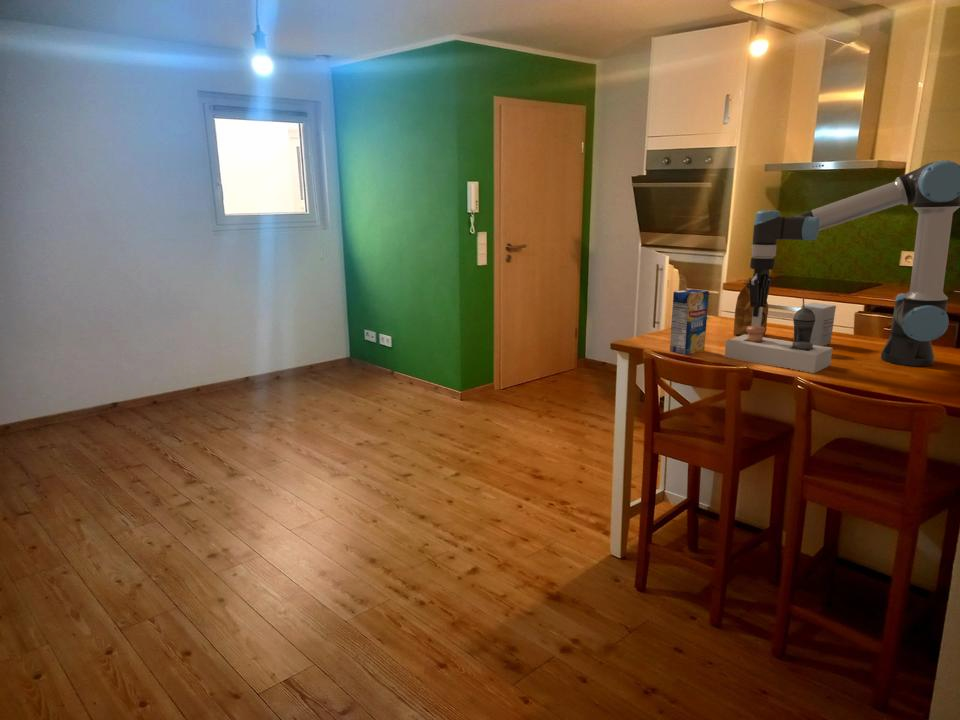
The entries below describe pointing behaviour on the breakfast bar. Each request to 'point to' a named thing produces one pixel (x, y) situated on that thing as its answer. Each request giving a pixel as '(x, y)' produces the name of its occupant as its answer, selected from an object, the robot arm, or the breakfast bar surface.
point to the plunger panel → (778, 354)
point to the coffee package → (746, 312)
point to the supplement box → (821, 323)
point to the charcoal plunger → (802, 345)
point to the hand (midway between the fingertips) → (756, 325)
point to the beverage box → (689, 321)
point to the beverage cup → (803, 324)
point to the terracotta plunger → (755, 333)
